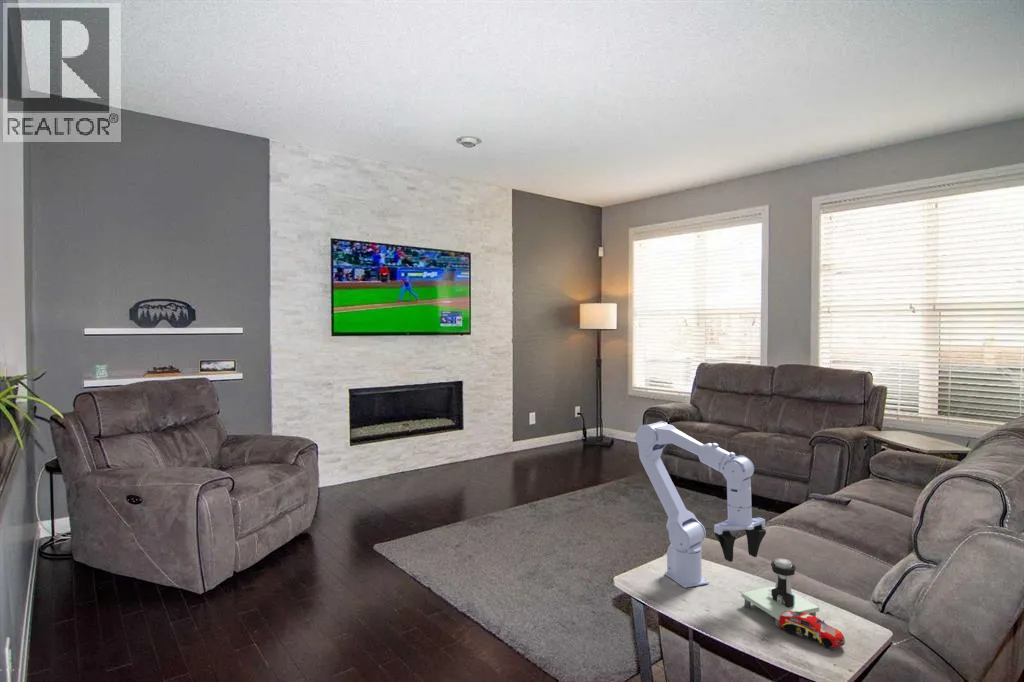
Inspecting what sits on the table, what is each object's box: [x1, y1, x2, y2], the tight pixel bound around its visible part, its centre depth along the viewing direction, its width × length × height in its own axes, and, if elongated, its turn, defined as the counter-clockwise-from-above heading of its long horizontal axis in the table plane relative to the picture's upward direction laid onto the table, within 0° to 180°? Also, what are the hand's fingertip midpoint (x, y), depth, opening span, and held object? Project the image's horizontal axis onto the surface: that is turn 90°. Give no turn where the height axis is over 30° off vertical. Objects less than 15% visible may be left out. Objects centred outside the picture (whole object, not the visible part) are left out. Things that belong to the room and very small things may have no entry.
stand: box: [740, 585, 820, 629], centre depth 132 cm, size 12×12×3 cm
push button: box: [768, 557, 796, 608], centre depth 131 cm, size 7×5×10 cm
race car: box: [779, 611, 846, 649], centre depth 121 cm, size 13×5×4 cm, turn 37°
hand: (740, 558), depth 138 cm, fingers open, 7 cm apart
